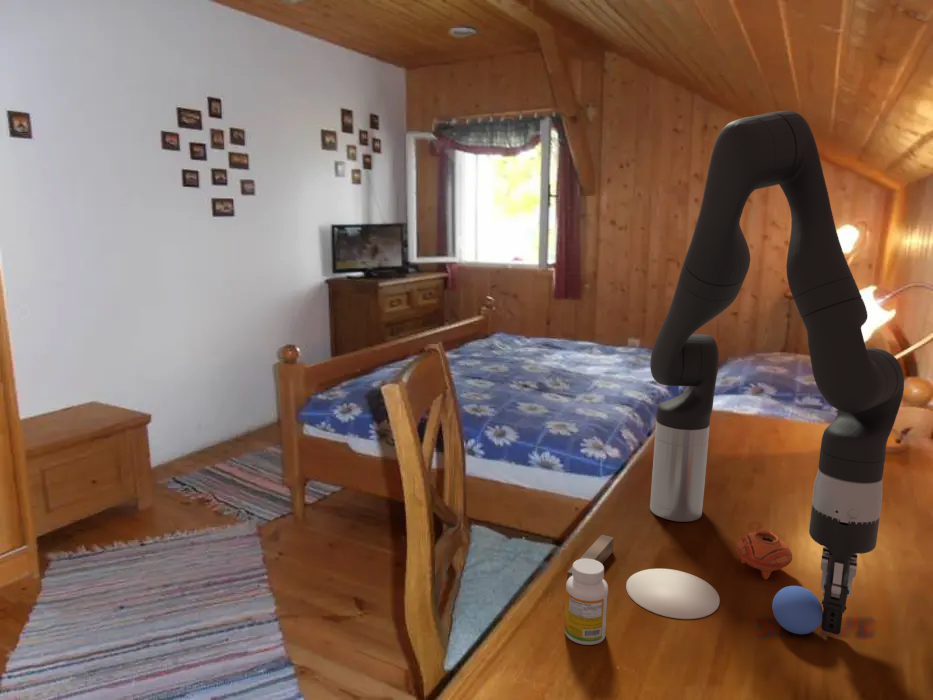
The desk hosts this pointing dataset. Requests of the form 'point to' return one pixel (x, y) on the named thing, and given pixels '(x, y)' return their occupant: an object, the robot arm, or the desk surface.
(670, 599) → the white round plate
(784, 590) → the ball
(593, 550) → the wall
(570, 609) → the supplement bottle
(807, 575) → the desk surface
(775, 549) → the pot
